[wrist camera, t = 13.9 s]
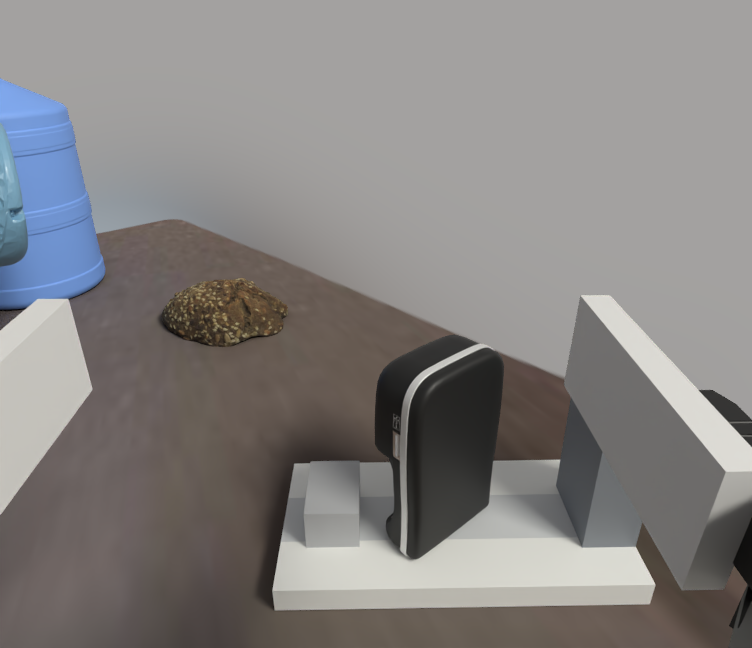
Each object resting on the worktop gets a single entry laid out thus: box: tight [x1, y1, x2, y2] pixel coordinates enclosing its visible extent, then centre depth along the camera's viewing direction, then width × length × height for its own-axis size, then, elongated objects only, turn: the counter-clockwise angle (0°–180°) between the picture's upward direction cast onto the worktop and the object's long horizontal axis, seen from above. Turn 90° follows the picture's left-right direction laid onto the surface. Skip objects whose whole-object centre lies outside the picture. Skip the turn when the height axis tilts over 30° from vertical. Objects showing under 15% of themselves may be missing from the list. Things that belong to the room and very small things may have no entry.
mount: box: [272, 398, 655, 610], centre depth 32 cm, size 10×20×12 cm, turn 91°
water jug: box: [0, 78, 105, 310], centre depth 65 cm, size 16×16×28 cm
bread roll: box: [162, 278, 288, 347], centre depth 61 cm, size 13×12×5 cm
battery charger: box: [375, 335, 504, 560], centre depth 32 cm, size 7×4×11 cm, turn 132°
